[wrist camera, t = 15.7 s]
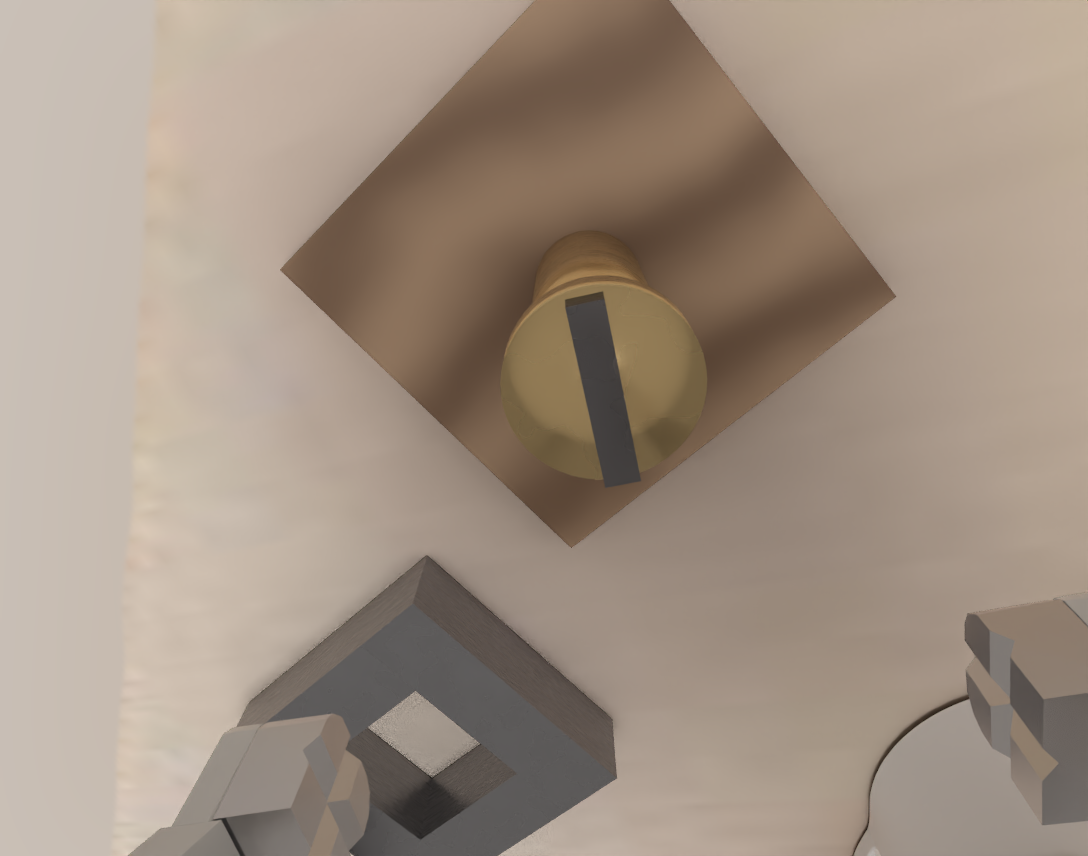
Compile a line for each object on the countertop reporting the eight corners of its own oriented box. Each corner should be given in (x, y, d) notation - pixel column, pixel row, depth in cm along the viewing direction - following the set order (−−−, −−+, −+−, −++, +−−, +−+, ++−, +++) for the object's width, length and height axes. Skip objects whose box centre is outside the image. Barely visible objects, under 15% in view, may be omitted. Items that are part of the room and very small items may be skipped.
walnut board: (887, 290, 33) (896, 296, 33) (571, 537, 39) (571, 547, 38) (607, -73, 29) (609, -78, 28) (287, 264, 34) (279, 269, 33)
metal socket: (612, 719, 43) (616, 778, 39) (433, 840, 47) (422, 904, 43) (426, 555, 39) (412, 603, 35) (249, 702, 43) (219, 759, 39)
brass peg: (643, 201, 31) (695, 271, 19) (666, 334, 33) (726, 471, 21) (506, 232, 32) (474, 319, 20) (537, 361, 34) (525, 509, 22)
